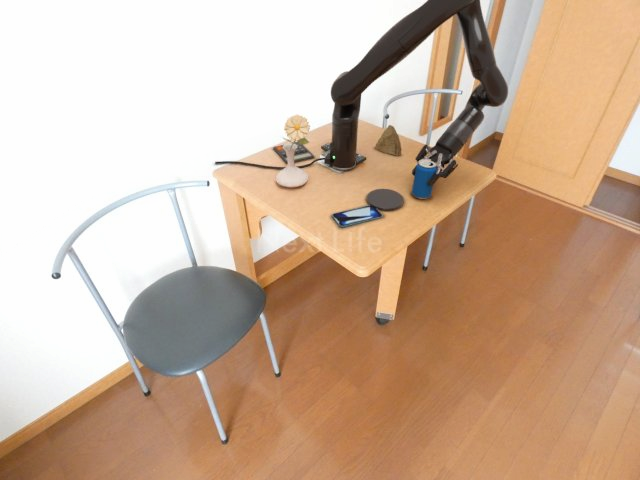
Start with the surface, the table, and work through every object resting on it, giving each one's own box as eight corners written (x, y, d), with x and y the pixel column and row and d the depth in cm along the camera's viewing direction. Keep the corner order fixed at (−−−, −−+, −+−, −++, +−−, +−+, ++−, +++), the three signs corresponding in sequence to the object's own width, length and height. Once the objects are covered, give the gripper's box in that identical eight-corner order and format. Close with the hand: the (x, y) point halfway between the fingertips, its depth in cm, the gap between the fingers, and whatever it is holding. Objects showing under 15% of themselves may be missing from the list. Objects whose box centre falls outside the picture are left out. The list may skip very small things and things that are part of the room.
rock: (409, 150, 147) (400, 136, 153) (400, 136, 141) (391, 122, 147) (386, 166, 150) (378, 152, 157) (376, 153, 144) (368, 139, 151)
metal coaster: (362, 207, 120) (363, 204, 120) (371, 188, 129) (371, 186, 128) (399, 214, 117) (400, 211, 117) (405, 194, 126) (406, 192, 125)
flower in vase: (270, 187, 130) (263, 117, 114) (284, 172, 138) (279, 105, 122) (305, 194, 127) (302, 123, 111) (316, 178, 135) (316, 110, 119)
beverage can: (431, 201, 122) (438, 168, 115) (411, 199, 123) (417, 166, 116) (430, 190, 127) (437, 159, 120) (411, 188, 128) (417, 157, 121)
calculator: (299, 141, 156) (314, 155, 146) (299, 143, 157) (314, 157, 147) (273, 146, 152) (286, 162, 142) (273, 148, 153) (287, 164, 143)
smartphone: (384, 216, 116) (340, 227, 111) (383, 218, 116) (340, 229, 112) (372, 204, 121) (330, 213, 116) (372, 206, 122) (330, 216, 117)
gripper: (434, 123, 120) (401, 165, 123) (468, 140, 110) (431, 185, 113) (442, 135, 125) (410, 175, 128) (476, 152, 116) (440, 194, 119)
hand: (420, 179), depth 121 cm, fingers closed on beverage can, 6 cm apart
